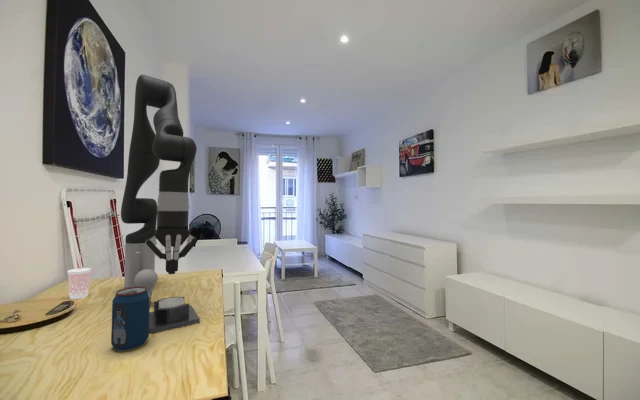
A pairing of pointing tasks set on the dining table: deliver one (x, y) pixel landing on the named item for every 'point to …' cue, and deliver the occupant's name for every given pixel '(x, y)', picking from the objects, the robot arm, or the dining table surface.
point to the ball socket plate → (171, 317)
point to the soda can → (130, 318)
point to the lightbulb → (146, 280)
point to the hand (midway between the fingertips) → (171, 273)
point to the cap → (171, 302)
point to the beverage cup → (79, 281)
